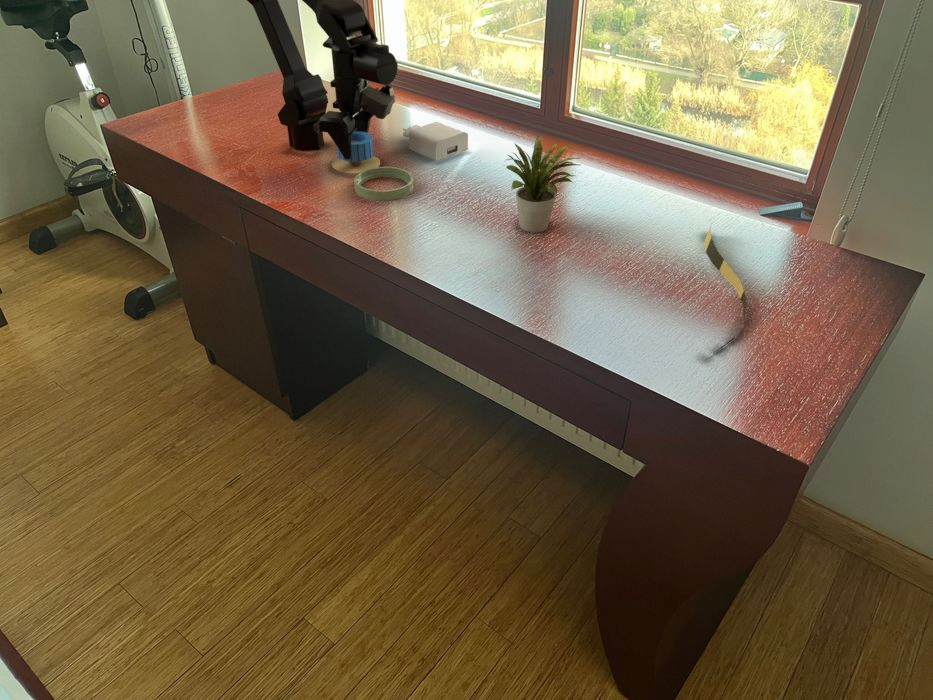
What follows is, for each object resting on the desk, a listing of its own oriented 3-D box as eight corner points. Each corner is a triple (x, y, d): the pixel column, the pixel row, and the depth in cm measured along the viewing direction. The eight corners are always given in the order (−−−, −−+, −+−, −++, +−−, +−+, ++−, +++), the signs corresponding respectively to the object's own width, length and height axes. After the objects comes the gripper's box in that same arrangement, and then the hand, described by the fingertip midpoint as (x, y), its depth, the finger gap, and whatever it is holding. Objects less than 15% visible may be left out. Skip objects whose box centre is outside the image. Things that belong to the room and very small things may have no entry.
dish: (345, 199, 142) (344, 186, 141) (369, 175, 151) (368, 163, 149) (401, 207, 140) (400, 195, 138) (421, 183, 148) (421, 170, 147)
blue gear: (331, 159, 151) (329, 142, 149) (346, 145, 157) (345, 129, 154) (365, 163, 149) (363, 146, 147) (379, 150, 155) (378, 133, 153)
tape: (737, 240, 132) (743, 221, 129) (747, 369, 102) (755, 347, 100) (702, 235, 133) (708, 215, 130) (702, 361, 103) (709, 339, 101)
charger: (421, 133, 169) (467, 152, 161) (390, 144, 164) (436, 164, 156) (421, 112, 167) (468, 131, 158) (389, 123, 161) (436, 142, 153)
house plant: (537, 256, 126) (544, 165, 116) (476, 229, 133) (478, 141, 123) (586, 227, 134) (597, 140, 124) (526, 203, 142) (532, 119, 132)
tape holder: (323, 172, 152) (321, 148, 149) (344, 154, 159) (342, 130, 156) (369, 179, 150) (367, 154, 146) (387, 160, 157) (386, 136, 154)
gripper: (368, 93, 134) (373, 175, 144) (405, 64, 148) (408, 140, 158) (312, 87, 137) (321, 167, 146) (354, 59, 151) (360, 133, 160)
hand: (355, 151), depth 153 cm, fingers closed on blue gear, 7 cm apart
